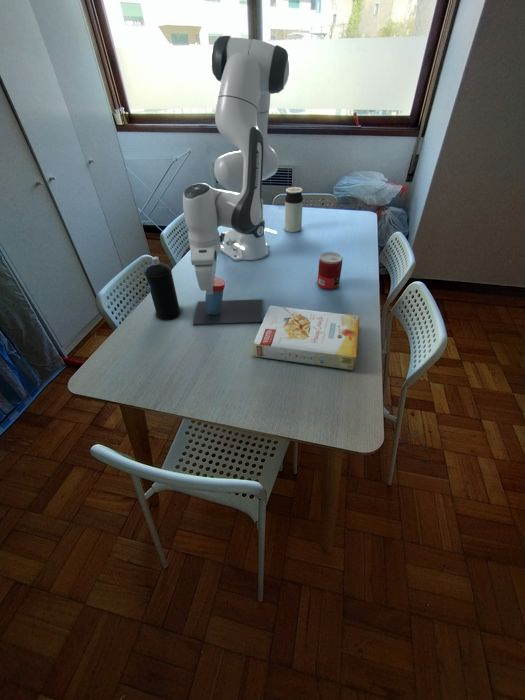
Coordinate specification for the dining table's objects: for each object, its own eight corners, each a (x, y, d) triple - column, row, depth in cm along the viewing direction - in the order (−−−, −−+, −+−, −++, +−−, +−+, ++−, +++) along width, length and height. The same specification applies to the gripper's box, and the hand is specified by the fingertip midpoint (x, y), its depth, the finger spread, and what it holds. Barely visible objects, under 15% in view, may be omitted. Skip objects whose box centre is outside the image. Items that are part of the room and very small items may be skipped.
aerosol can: (185, 308, 119) (174, 253, 106) (173, 322, 113) (159, 266, 100) (164, 304, 121) (150, 250, 108) (151, 317, 115) (135, 262, 102)
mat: (193, 325, 112) (193, 324, 111) (198, 302, 121) (198, 301, 121) (262, 323, 111) (262, 321, 111) (261, 300, 121) (261, 299, 121)
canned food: (338, 291, 124) (342, 262, 117) (316, 289, 126) (318, 261, 119) (339, 280, 130) (343, 252, 123) (317, 278, 131) (320, 251, 124)
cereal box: (357, 356, 90) (252, 342, 95) (354, 372, 93) (252, 357, 99) (360, 313, 105) (268, 303, 110) (357, 328, 108) (268, 317, 114)
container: (202, 313, 113) (206, 284, 106) (204, 303, 117) (207, 275, 110) (220, 316, 114) (224, 287, 107) (221, 306, 118) (225, 278, 111)
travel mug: (301, 232, 164) (303, 192, 152) (285, 232, 165) (285, 192, 153) (300, 225, 170) (302, 186, 158) (284, 226, 171) (285, 187, 159)
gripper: (198, 232, 109) (204, 271, 118) (189, 262, 93) (198, 306, 102) (218, 231, 109) (223, 271, 118) (213, 261, 93) (219, 305, 102)
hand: (211, 287), depth 110 cm, fingers closed on container, 5 cm apart
